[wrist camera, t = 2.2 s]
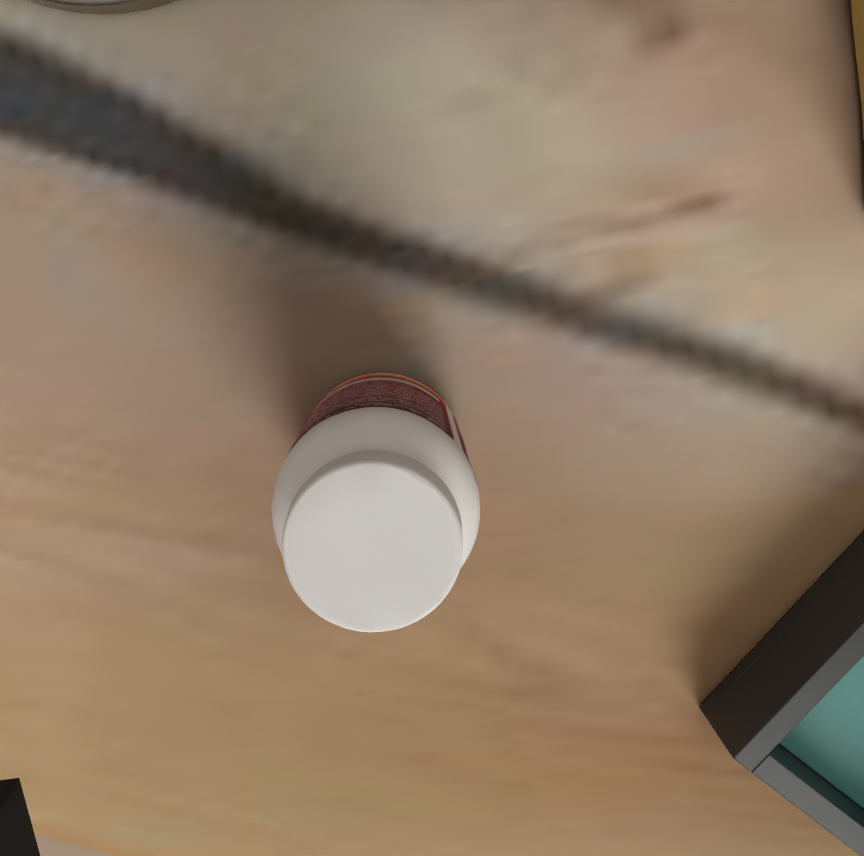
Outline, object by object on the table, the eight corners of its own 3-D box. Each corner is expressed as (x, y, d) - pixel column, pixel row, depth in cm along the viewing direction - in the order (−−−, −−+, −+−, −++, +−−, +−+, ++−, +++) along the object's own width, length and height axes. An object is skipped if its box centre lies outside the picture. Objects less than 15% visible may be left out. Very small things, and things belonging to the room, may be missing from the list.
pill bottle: (271, 437, 30) (196, 531, 20) (393, 337, 30) (386, 377, 19) (373, 554, 32) (356, 703, 21) (493, 460, 31) (540, 563, 20)
